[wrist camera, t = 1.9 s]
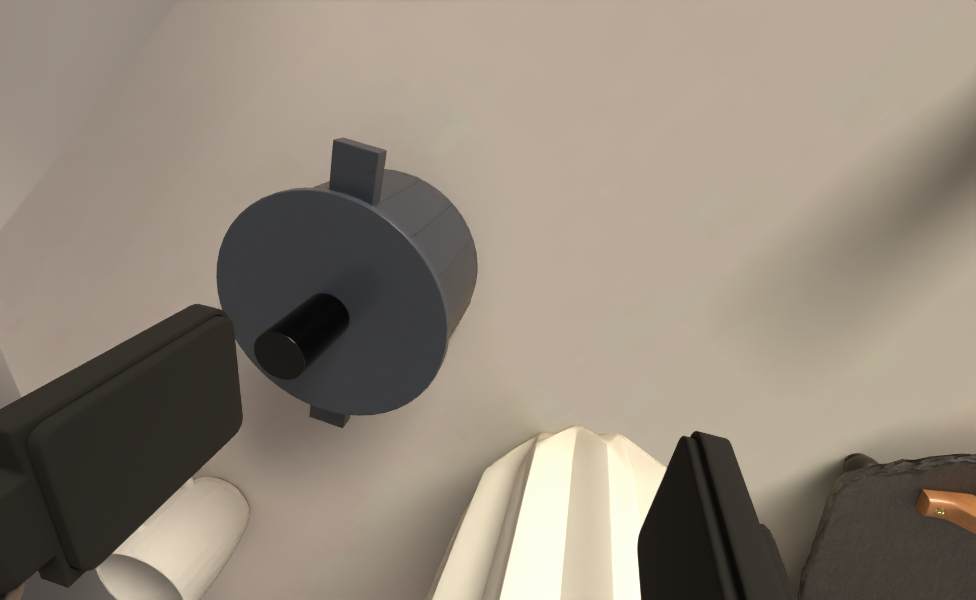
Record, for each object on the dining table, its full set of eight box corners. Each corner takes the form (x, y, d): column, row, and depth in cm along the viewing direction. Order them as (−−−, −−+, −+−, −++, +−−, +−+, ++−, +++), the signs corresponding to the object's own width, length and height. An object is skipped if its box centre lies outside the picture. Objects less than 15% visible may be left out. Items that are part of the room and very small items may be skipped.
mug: (275, 529, 50) (205, 625, 41) (209, 530, 53) (131, 621, 44) (219, 432, 46) (127, 517, 37) (150, 439, 49) (50, 520, 40)
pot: (303, 335, 39) (231, 398, 31) (320, 103, 31) (228, 112, 23) (449, 385, 38) (412, 462, 30) (507, 158, 29) (475, 186, 22)
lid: (230, 364, 31) (159, 418, 26) (228, 153, 25) (133, 171, 20) (428, 433, 30) (394, 504, 25) (478, 229, 23) (445, 270, 18)
